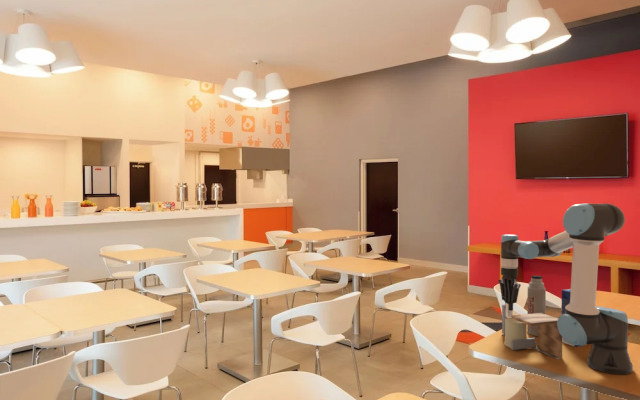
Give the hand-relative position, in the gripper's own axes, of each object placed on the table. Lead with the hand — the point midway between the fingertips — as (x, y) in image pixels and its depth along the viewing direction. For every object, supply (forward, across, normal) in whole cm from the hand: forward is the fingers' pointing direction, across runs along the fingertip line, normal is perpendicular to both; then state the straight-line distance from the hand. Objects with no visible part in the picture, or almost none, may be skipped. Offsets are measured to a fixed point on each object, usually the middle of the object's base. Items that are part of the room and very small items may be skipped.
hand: (509, 316), depth 221 cm
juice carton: (+10, -17, -24) cm, 31 cm away
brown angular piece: (+10, -14, +5) cm, 17 cm away
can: (+10, -12, +6) cm, 16 cm away
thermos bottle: (+10, 0, -16) cm, 19 cm away
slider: (+9, -7, +6) cm, 13 cm away
